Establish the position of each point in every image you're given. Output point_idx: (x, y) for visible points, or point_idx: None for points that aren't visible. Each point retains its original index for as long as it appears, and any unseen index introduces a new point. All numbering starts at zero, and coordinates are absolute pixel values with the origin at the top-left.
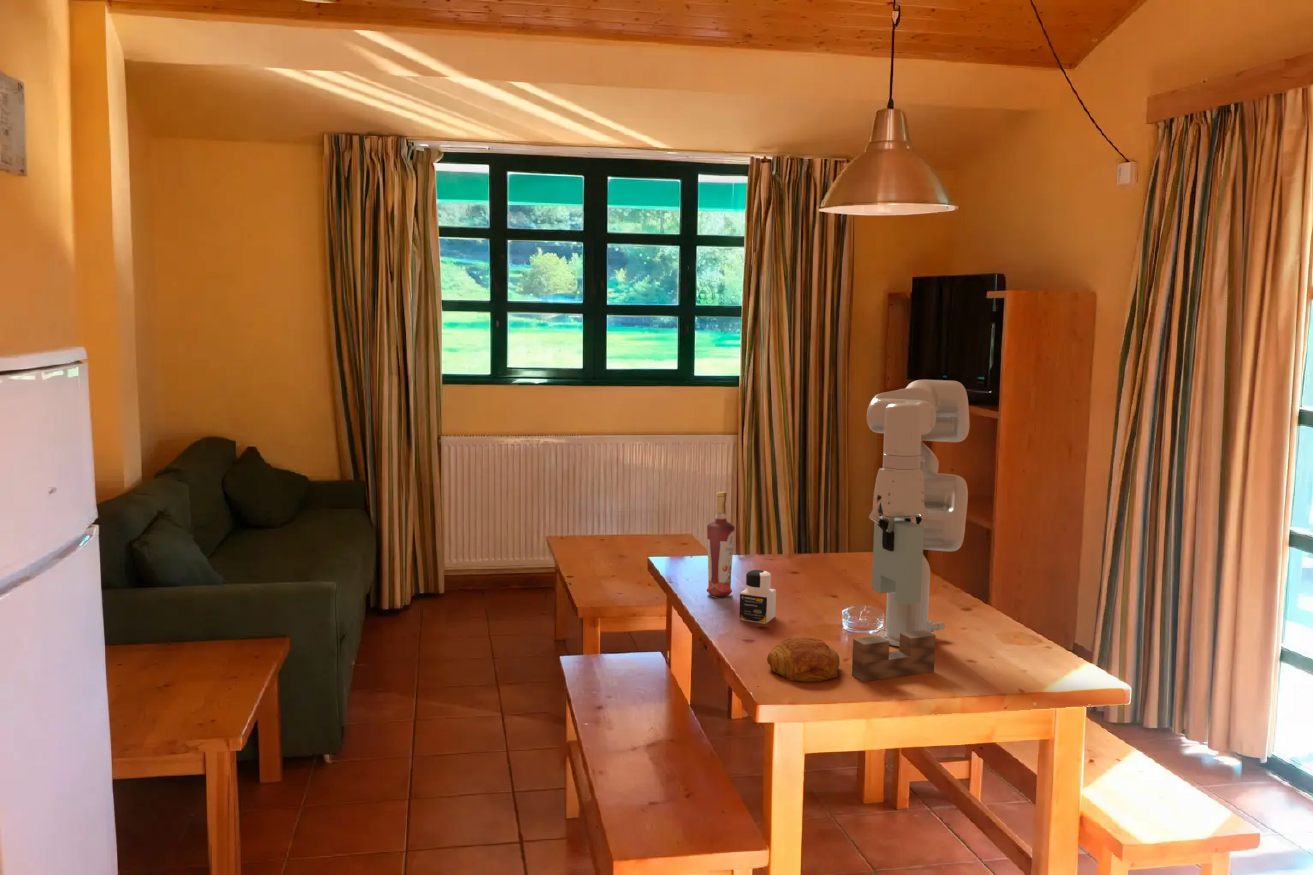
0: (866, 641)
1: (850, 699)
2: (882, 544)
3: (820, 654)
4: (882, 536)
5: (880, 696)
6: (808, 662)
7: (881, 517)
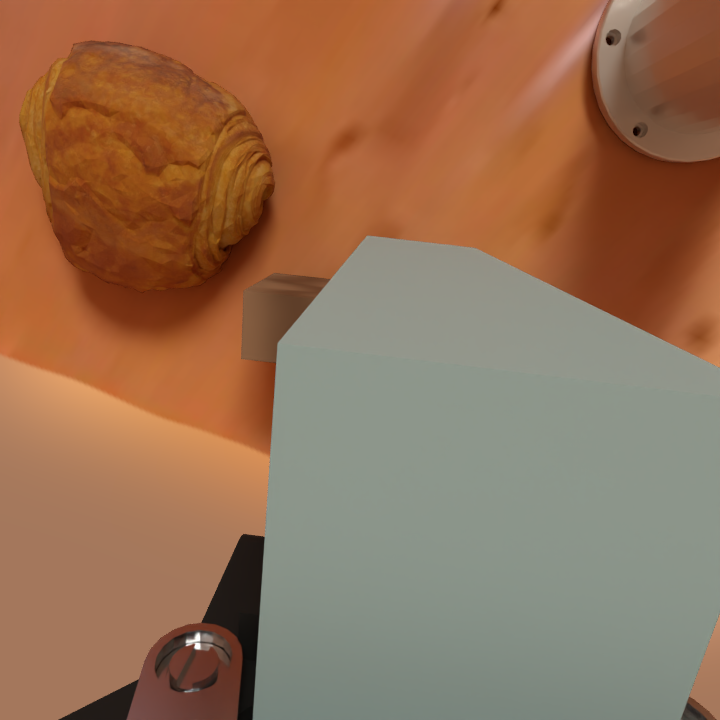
0: (270, 337)
1: (167, 413)
2: (244, 536)
3: (137, 257)
4: (217, 591)
5: (251, 431)
6: (91, 268)
7: (375, 496)
